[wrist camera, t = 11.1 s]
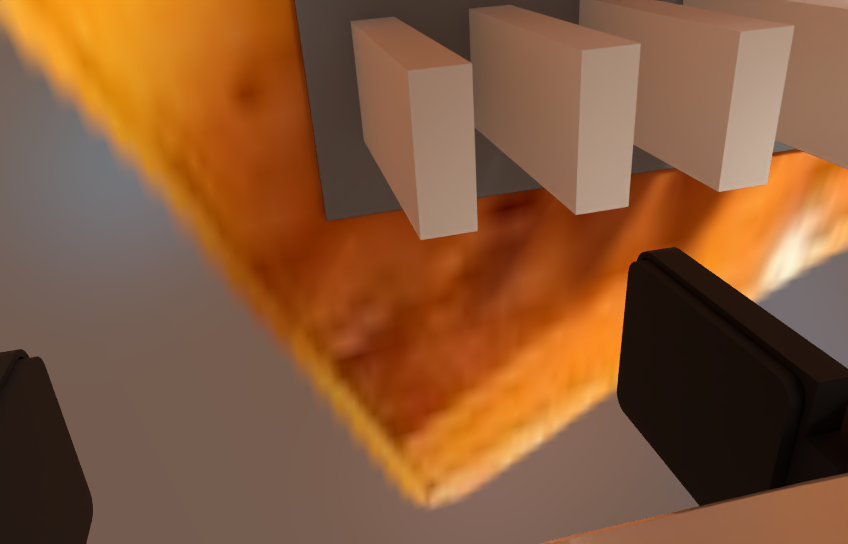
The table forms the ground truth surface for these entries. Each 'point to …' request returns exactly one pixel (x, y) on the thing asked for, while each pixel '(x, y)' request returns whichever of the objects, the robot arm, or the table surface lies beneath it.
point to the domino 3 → (702, 86)
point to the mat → (340, 108)
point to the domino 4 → (807, 71)
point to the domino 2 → (557, 102)
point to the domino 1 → (419, 123)
